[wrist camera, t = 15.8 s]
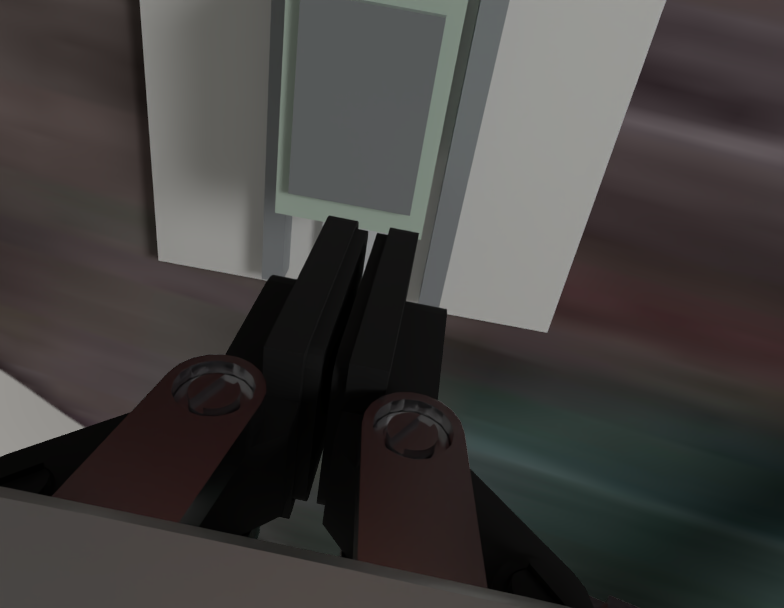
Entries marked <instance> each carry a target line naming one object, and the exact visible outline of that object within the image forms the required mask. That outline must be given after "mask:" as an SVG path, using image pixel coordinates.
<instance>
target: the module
mask: <svg viewBox="0 0 784 608" xmlns="http://www.w3.org/2000/svg"><path fill="white" fill-rule="evenodd" d="M467 4H468V0H285V16H284V37H283V57H282V78H281V98H280V119H279V139H278V160H277V181H276V201H275V213H279V214H284V215H290V216H295V217H300V218H306V219H311V220H317V221H322V222H325V221H326V219H327V217H328V216H329V215H330V216H335V217H340V218H345V219H350V220H355V221H358V222H359V229H365V230H370V231H375V232H381V233H386V234H388V233H389V229H390V227H391V228H396V229H401V230H407V231H412V232H417V233H419V237H418V240H421V236H422V231H423V226H424V221H425V216H426V211H427V206H428V201H429V196H430V191H431V185H432V180H433V175H434V170H435V165H436V160H437V155H438V150H439V145H440V140H441V135H442V130H443V125H444V120H445V115H446V110H447V105H448V100H449V95H450V90H451V85H452V80H453V75H454V69H455V64H456V59H457V54H458V49H459V44H460V39H461V34H462V29H463V24H464V19H465V14H466V9H467Z"/></svg>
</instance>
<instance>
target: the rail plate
mask: <svg viewBox="0 0 784 608" xmlns="http://www.w3.org/2000/svg"><path fill="white" fill-rule="evenodd" d="M665 2H666V0H468V4H467V9H466V14H465V19H464V24H463V29H462V34H461V39H460V44H459V49H458V54H457V59H456V64H455V69H454V75H453V80H452V85H451V90H450V95H449V100H448V105H447V110H446V115H445V120H444V125H443V130H442V135H441V140H440V145H439V150H438V155H437V160H436V165H435V170H434V175H433V180H432V185H431V191H430V196H429V201H428V206H427V211H426V216H425V221H424V226H423V231H422V236H421V240H418V242H417V247H416V252H415V257H414V263H413V268H412V273H411V278H410V283H409V288H408V294H407V299H406V301H409V302H414V303H419V304H424V305H429V306H434V307H439V308H444V309H447V314H450V315H455V316H461V317H466V318H471V319H477V320H482V321H488V322H493V323H498V324H504V325H509V326H514V327H520V328H525V329H531V330H536V331H541V332H548V329H549V326H550V323H551V321H552V318H553V315H554V312H555V309H556V307H557V304H558V301H559V298H560V295H561V293H562V290H563V287H564V284H565V281H566V279H567V276H568V273H569V270H570V267H571V265H572V262H573V259H574V256H575V253H576V251H577V248H578V245H579V242H580V239H581V237H582V234H583V231H584V228H585V226H586V223H587V220H588V217H589V214H590V212H591V209H592V206H593V203H594V200H595V198H596V195H597V192H598V189H599V186H600V184H601V181H602V178H603V175H604V172H605V170H606V167H607V164H608V161H609V158H610V156H611V153H612V150H613V147H614V144H615V142H616V139H617V136H618V133H619V130H620V128H621V125H622V122H623V119H624V117H625V114H626V111H627V108H628V105H629V103H630V100H631V97H632V94H633V91H634V89H635V86H636V83H637V80H638V77H639V75H640V72H641V69H642V66H643V63H644V61H645V58H646V55H647V52H648V49H649V47H650V44H651V41H652V38H653V35H654V33H655V30H656V27H657V24H658V22H659V19H660V16H661V13H662V10H663V8H664V5H665ZM140 13H141V26H142V40H143V54H144V68H145V81H146V95H147V109H148V123H149V136H150V150H151V164H152V178H153V191H154V205H155V219H156V233H157V246H158V260H159V261H164V262H170V263H175V264H180V265H186V266H191V267H197V268H202V269H207V270H213V271H218V272H224V273H229V274H234V275H240V276H245V277H251V278H256V279H261V280H268V279H269V277H270V276H271V275H278V276H283V277H288V278H293V279H297V278H298V276H299V274H300V272H301V270H302V268H303V266H304V264H305V262H306V260H307V258H308V256H309V254H310V252H311V250H312V248H313V246H314V244H315V242H316V240H317V238H318V236H319V233H320V231H321V229H322V227H323V225H324V223H325V222H322V221H317V220H311V219H306V218H300V217H295V216H290V215H284V214H279V213H275V201H276V181H277V160H278V139H279V119H280V98H281V78H282V57H283V37H284V16H285V0H140ZM358 229H359V228H358ZM361 230H365V229H361ZM366 231H368V241H367V248H366V255H365V262H364V269H363V274H364V271H365V268H366V265H367V262H368V259H369V256H370V253H371V250H372V247H373V244H374V241H375V237H376V234H377V233H381V232H375V231H370V230H366ZM381 234H386V233H381ZM386 235H388V234H386ZM362 277H363V276H362Z"/></svg>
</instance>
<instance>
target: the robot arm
mask: <svg viewBox="0 0 784 608" xmlns="http://www.w3.org/2000/svg"><path fill="white" fill-rule="evenodd" d="M358 228H359V222H358V221H355V220H350V219H345V218H340V217H335V216H330V215H329V216H328V217H327V219H326V221H325V223H324V225H323V227H322V229H321V231H320V233H319V236H318V238H317V240H316V242H315V244H314V246H313V248H312V250H311V252H310V254H309V256H308V258H307V260H306V262H305V264H304V266H303V268H302V270H301V272H300V274H299V276H298V278H297V279H293V278H288V277H283V276H278V275H271V276H270V277H269V279H268V280H267V282H266V284H265V286H264V287H263V289H262V291H261V293H260V294H259V296H258V298H257V300H256V301H255V303H254V305H253V307H252V308H251V310H250V312H249V314H248V316H247V317H246V319H245V321H244V323H243V324H242V326H241V328H240V330H239V331H238V333H237V335H236V337H235V338H234V340H233V342H232V344H231V346H230V347H229V349H228V351H227V353H226V354H208V355H203V356H198V357H193V358H191V359H188V360H186V361H184V362H181V363H179V364H178V365H176V366H175V367H174V368H173V369H171V370H170V371H169V372H168V373H167V374H166V375H165V376H164V377H163V378H162V379H161V380H160V381H159V382H158V383H157V384H156V385H155V387H154V388H153V389H152V390H151V391H150V392H149V393H148V394H147V395H146V396H145V397H144V398H143V399H142V400H141V401H140V403H139V404H138V405H137V406H136V407H135V408H134V409H133V410H132V411H131V412H130V413H127V414H124V415H121V416H118V417H115V418H112V419H109V420H106V421H104V422H101V423H98V424H95V425H92V426H89V427H86V428H83V429H80V430H77V431H74V432H71V433H69V434H65V435H62V436H60V437H56V438H53V439H50V440H47V441H45V442H42V443H39V444H36V445H33V446H30V447H27V448H24V449H21V450H18V451H15V452H12V453H9V454H6V455H4V456H2V457H0V608H639V607H636V606H634V605H631V604H629V603H627V602H624V601H622V600H620V599H617V598H615V597H613V596H610V595H609V596H608V598H607V599H606V601H605V602H603V601H601V600H598V599H596V598H594V597H591V596H589V595H588V593H587V591H586V588H585V587H584V586H583V585H582V583H581V582H580V581H579V579H578V578H577V577H576V576H575V574H574V573H573V572H572V571H571V570H570V569H569V568H568V567H567V566H566V565H565V564H564V563H563V562H562V561H561V560H560V559H559V558H558V557H557V556H556V555H555V554H554V553H553V552H552V551H551V550H550V549H549V548H548V547H547V546H546V545H545V544H544V543H543V542H542V541H541V540H540V539H539V538H538V537H537V536H536V535H535V534H534V533H533V532H532V531H531V530H530V529H529V528H528V527H527V526H526V525H525V524H524V523H523V522H522V521H521V520H520V519H519V518H518V517H517V516H516V515H515V514H514V513H513V512H512V511H511V510H510V509H509V508H508V507H507V506H506V505H505V503H504V502H503V501H502V500H501V499H500V498H499V497H498V496H497V495H496V494H495V493H494V492H493V491H492V490H491V489H490V488H489V487H488V486H487V485H486V484H485V483H484V482H483V481H482V480H481V479H480V478H479V477H478V476H477V475H476V474H475V473H474V472H473V471H472V470H471V469H470V466H469V459H468V453H467V446H466V439H465V433H464V430H463V427H462V424H461V421H460V420H459V418H458V417H457V416H456V415H455V413H454V412H453V411H452V410H451V409H450V408H448V407H447V406H446V405H444V404H443V403H442V402H440V401H438V392H439V382H440V373H441V364H442V355H443V345H444V336H445V327H446V318H447V309H444V308H439V307H434V306H429V305H424V304H419V303H414V302H409V301H406V299H407V294H408V288H409V283H410V278H411V273H412V268H413V263H414V257H415V252H416V247H417V242H418V237H419V233H417V232H412V231H407V230H401V229H396V228H391V227H390V229H389V233H388V235H386V234H381V233H377V234H376V237H375V241H374V244H373V247H372V250H371V253H370V256H369V259H368V262H367V265H366V268H365V271H364V274H363V269H364V262H365V255H366V248H367V241H368V231H366V230H361V229H358ZM362 276H363V277H362ZM322 451H323V456H322V464H321V472H320V480H319V489H318V496H317V503H318V504H323V505H325V509H324V517H323V525H324V527H325V528H326V529H327V531H328V532H329V533H330V535H331V536H332V537H333V539H334V540H335V542H336V543H337V544H338V546H339V547H340V548H341V550H340V556H339V557H338V556H334V555H329V554H324V553H319V552H315V551H310V550H305V549H300V548H296V547H291V546H286V545H281V544H277V543H272V542H267V541H262V540H258V539H257V538H258V536H259V533H260V526H261V525H263V524H265V523H267V522H269V521H271V520H273V519H275V518H277V517H283V518H288V519H289V518H290V515H291V512H292V509H293V506H294V502H295V499H298V500H303V501H307V500H308V497H309V494H310V491H311V488H312V484H313V481H314V478H315V474H316V471H317V468H318V464H319V461H320V458H321V454H322Z"/></svg>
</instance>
